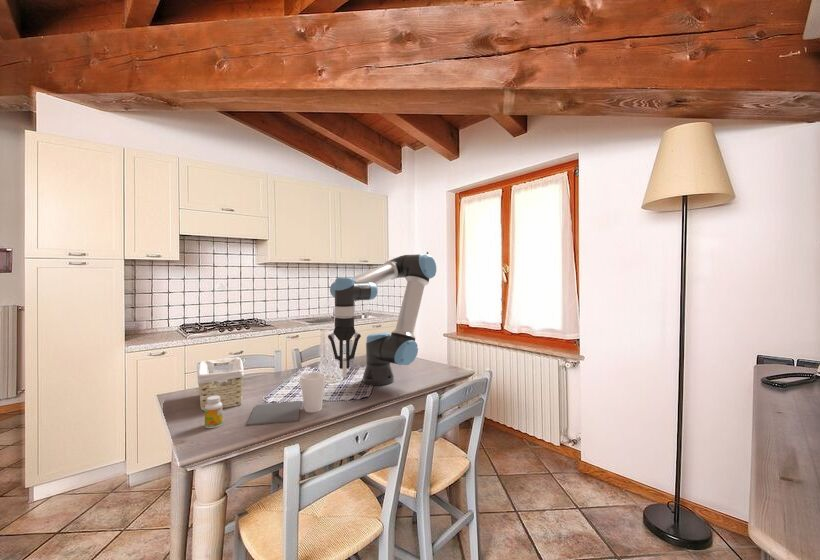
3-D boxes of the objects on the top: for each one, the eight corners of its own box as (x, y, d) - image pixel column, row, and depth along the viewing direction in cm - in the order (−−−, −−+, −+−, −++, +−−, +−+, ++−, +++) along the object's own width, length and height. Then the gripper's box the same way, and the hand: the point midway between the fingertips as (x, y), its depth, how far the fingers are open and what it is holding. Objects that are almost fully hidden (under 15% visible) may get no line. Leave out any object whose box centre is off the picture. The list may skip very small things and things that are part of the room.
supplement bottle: (201, 428, 121) (200, 399, 120) (212, 421, 126) (212, 394, 126) (215, 429, 120) (214, 400, 119) (226, 422, 125) (225, 395, 125)
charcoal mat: (300, 402, 144) (300, 401, 144) (298, 420, 127) (298, 419, 127) (255, 406, 140) (255, 404, 140) (246, 425, 123) (246, 424, 123)
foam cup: (295, 411, 136) (295, 377, 135) (312, 403, 144) (312, 371, 144) (314, 415, 131) (314, 380, 131) (330, 407, 139) (330, 374, 139)
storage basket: (244, 406, 140) (244, 369, 140) (196, 414, 133) (196, 374, 132) (241, 388, 161) (241, 356, 161) (200, 394, 154) (199, 360, 154)
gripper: (360, 315, 145) (360, 372, 145) (327, 316, 142) (327, 374, 142) (362, 317, 138) (362, 378, 138) (327, 318, 134) (327, 380, 135)
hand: (344, 376), depth 140 cm, fingers closed
